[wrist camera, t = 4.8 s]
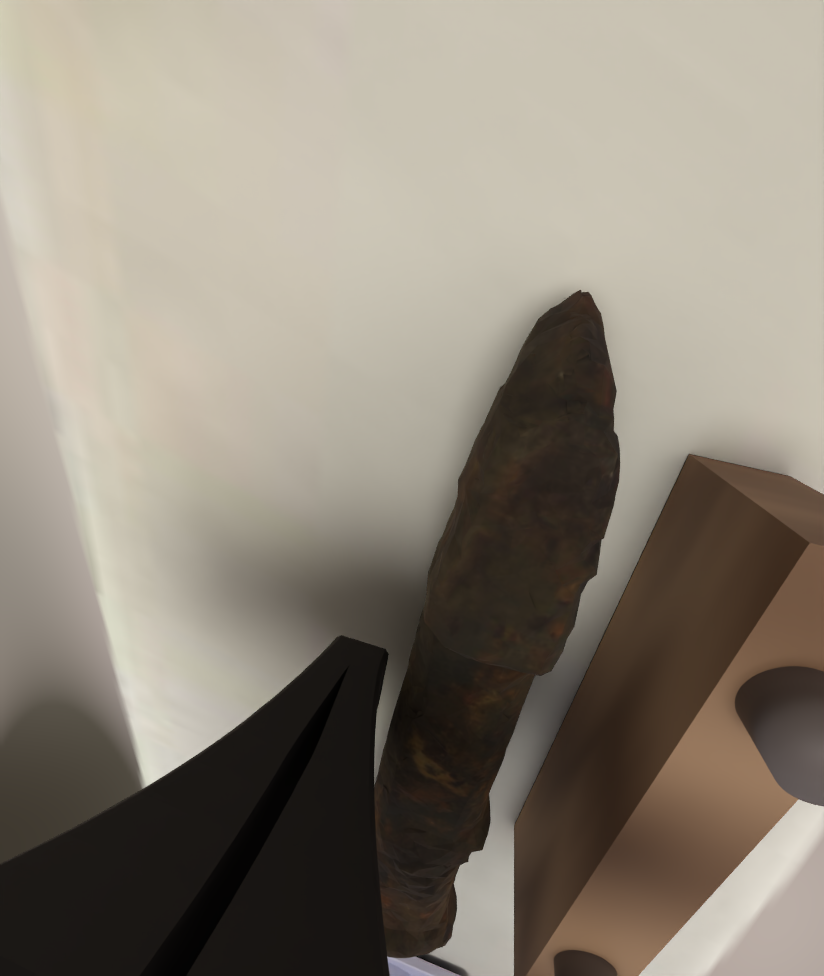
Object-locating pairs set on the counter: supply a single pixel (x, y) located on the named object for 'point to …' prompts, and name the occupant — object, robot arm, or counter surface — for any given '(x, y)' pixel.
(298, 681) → the robot arm
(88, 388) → the counter surface
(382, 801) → the hand tool
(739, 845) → the stop rail
